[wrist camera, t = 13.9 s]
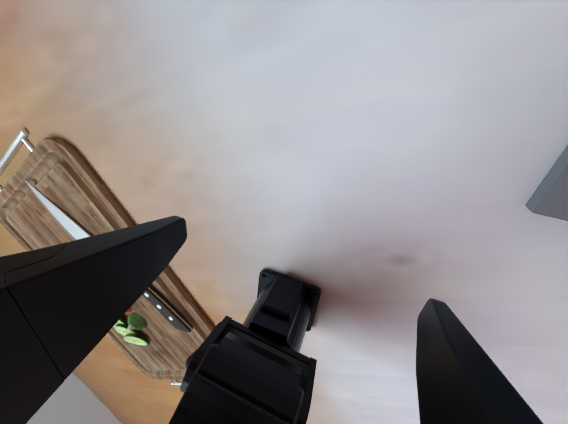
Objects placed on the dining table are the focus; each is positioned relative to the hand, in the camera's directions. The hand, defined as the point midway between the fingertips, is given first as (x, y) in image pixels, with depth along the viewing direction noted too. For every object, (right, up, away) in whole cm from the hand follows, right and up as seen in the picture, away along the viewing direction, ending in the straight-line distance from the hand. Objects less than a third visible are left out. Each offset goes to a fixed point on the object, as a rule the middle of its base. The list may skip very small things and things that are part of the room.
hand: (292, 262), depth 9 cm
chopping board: (-25, -10, +31) cm, 41 cm away
